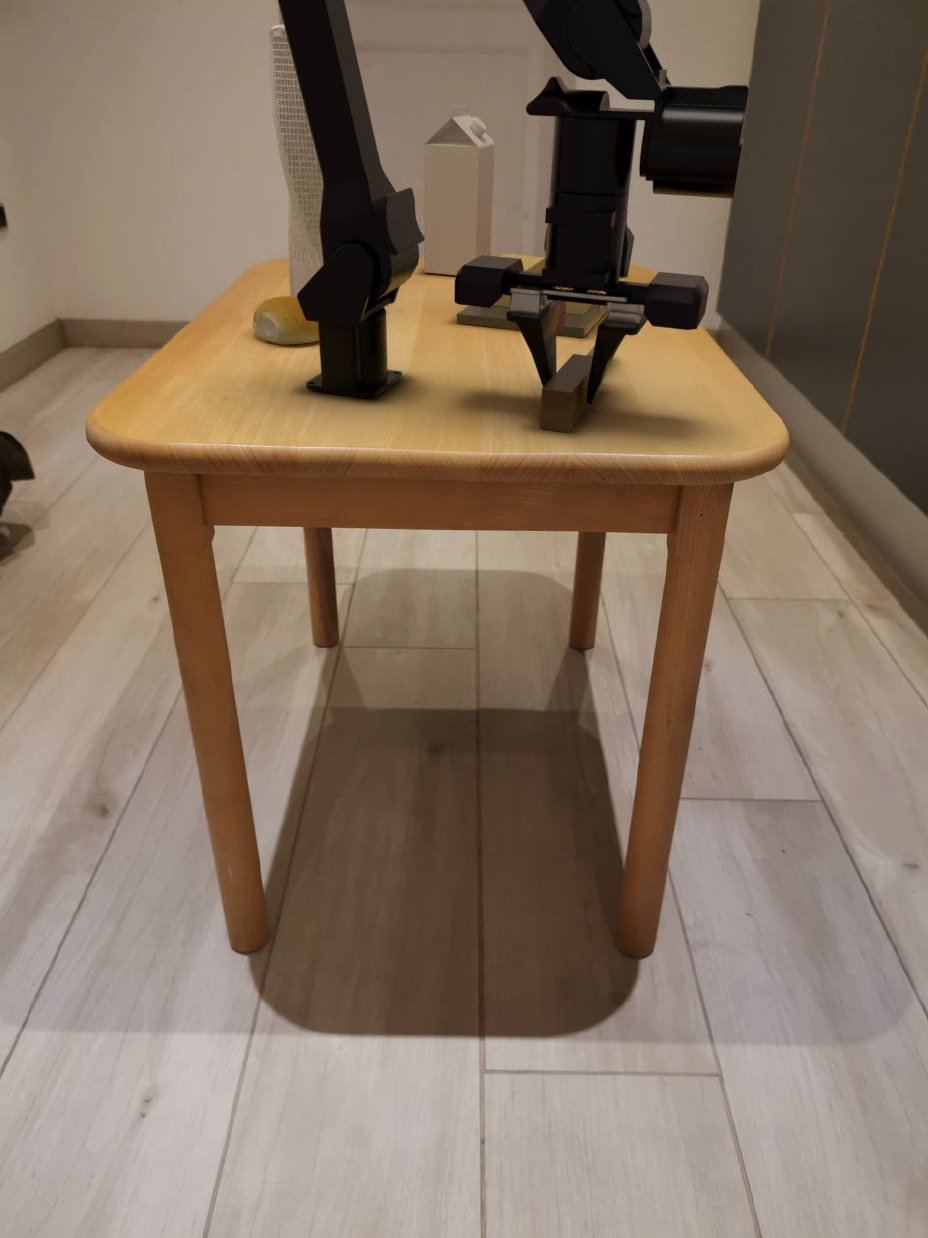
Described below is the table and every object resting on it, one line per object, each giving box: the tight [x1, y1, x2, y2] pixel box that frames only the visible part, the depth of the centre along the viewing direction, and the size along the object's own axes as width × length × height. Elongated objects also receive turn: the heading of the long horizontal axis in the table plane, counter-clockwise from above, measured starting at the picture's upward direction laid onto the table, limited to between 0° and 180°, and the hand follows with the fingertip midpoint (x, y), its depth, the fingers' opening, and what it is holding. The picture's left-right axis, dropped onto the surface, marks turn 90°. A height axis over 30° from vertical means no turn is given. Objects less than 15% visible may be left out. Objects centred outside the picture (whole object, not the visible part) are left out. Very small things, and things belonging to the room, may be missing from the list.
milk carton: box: [423, 104, 495, 276], centre depth 112 cm, size 7×7×19 cm
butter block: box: [493, 253, 545, 307], centre depth 100 cm, size 8×5×4 cm, turn 160°
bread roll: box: [252, 295, 319, 345], centre depth 89 cm, size 8×9×4 cm
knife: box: [538, 346, 594, 433], centre depth 76 cm, size 20×2×3 cm, turn 160°
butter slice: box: [565, 288, 601, 315], centre depth 98 cm, size 8×2×4 cm, turn 160°
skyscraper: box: [268, 24, 323, 297], centre depth 92 cm, size 8×8×28 cm
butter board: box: [456, 300, 607, 339], centre depth 99 cm, size 16×14×1 cm
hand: (570, 399), depth 72 cm, fingers open, 3 cm apart
